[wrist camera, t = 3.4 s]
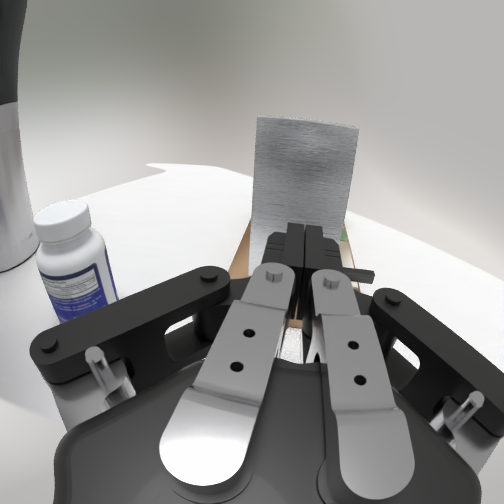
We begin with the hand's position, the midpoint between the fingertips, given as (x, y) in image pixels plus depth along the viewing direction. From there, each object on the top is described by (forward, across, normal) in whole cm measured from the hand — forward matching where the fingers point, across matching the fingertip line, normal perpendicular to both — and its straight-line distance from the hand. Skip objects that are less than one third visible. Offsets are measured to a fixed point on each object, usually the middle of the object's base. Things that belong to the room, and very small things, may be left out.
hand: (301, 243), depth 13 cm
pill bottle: (+1, +15, +9) cm, 17 cm away
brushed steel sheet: (+7, -1, +7) cm, 10 cm away
